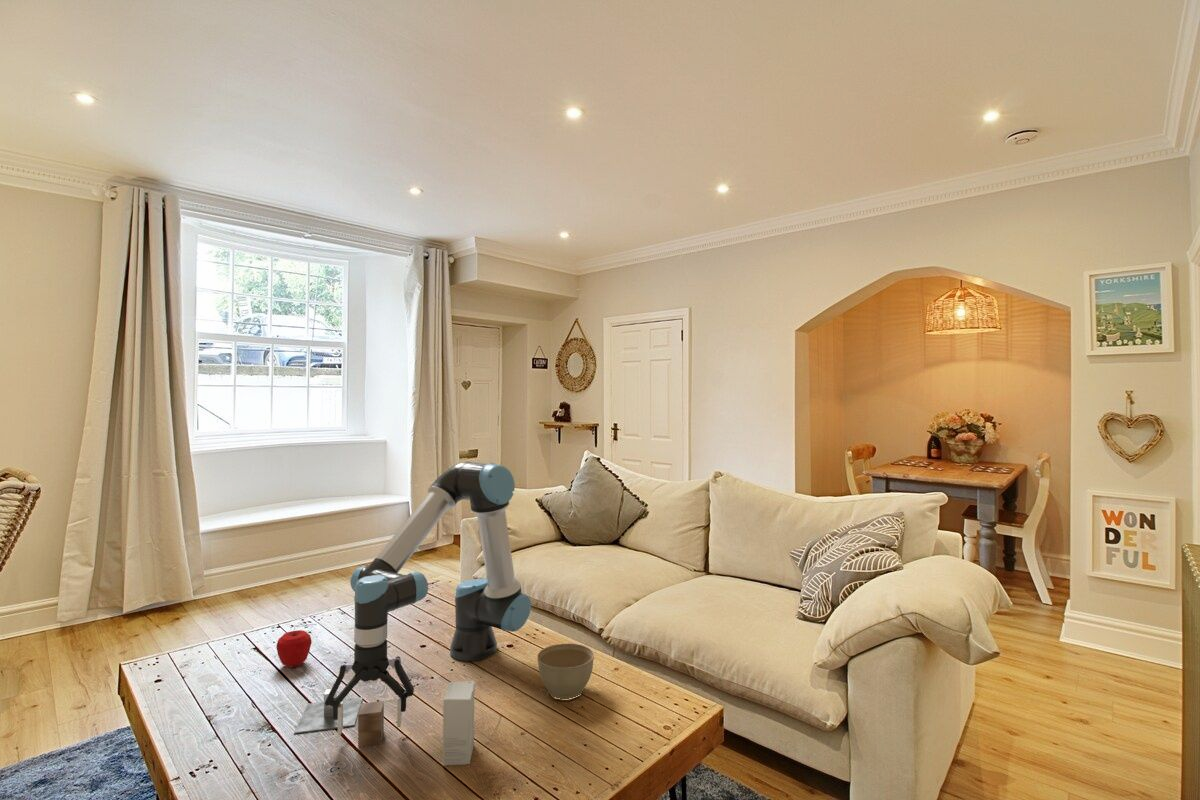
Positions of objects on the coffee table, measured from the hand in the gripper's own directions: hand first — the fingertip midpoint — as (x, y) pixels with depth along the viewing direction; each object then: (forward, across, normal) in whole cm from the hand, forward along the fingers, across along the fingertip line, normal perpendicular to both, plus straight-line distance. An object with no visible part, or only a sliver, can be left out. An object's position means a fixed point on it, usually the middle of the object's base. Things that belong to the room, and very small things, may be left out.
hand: (370, 728), depth 141 cm
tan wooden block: (+3, 0, 0) cm, 3 cm away
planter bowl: (+2, -51, -10) cm, 52 cm away
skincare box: (+3, -21, +12) cm, 24 cm away
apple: (+3, +29, -48) cm, 56 cm away
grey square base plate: (+3, +12, -14) cm, 19 cm away
